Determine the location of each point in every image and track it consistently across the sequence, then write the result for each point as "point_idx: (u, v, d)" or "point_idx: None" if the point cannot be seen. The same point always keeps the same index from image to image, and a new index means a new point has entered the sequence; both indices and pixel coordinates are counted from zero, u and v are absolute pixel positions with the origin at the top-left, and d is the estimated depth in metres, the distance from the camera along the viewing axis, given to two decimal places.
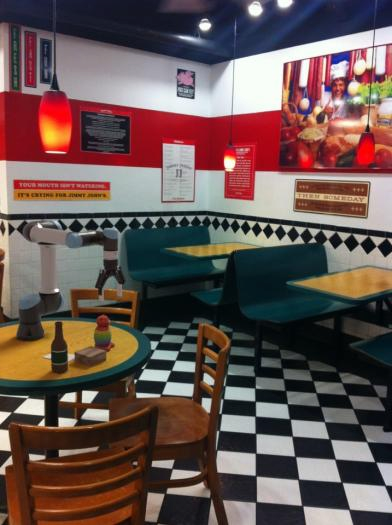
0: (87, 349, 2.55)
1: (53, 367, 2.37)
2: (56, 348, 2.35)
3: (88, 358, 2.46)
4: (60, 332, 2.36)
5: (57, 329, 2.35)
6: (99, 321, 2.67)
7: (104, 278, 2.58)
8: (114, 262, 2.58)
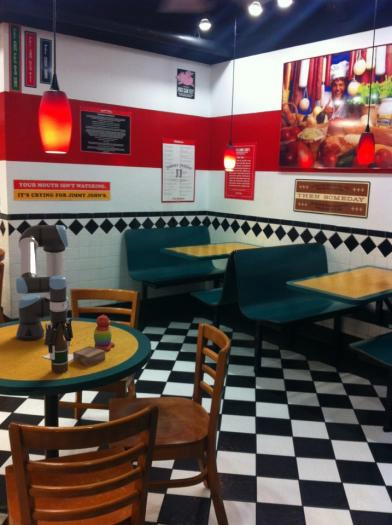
0: (85, 349, 2.55)
1: (53, 367, 2.37)
2: (56, 348, 2.35)
3: (87, 358, 2.46)
4: (60, 332, 2.36)
5: None
6: (99, 321, 2.67)
7: (53, 333, 2.34)
8: (62, 314, 2.33)
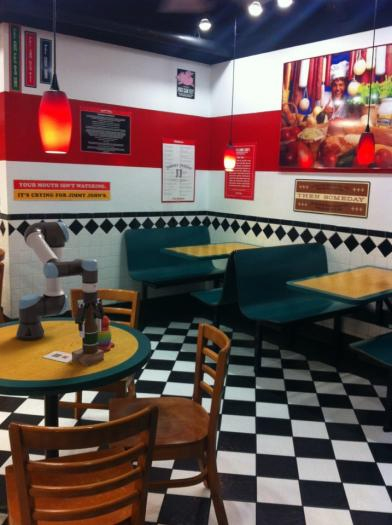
0: None
1: (84, 348, 2.50)
2: (87, 330, 2.47)
3: (85, 358, 2.47)
4: (91, 314, 2.48)
5: (88, 312, 2.47)
6: None
7: (84, 312, 2.46)
8: (93, 295, 2.45)
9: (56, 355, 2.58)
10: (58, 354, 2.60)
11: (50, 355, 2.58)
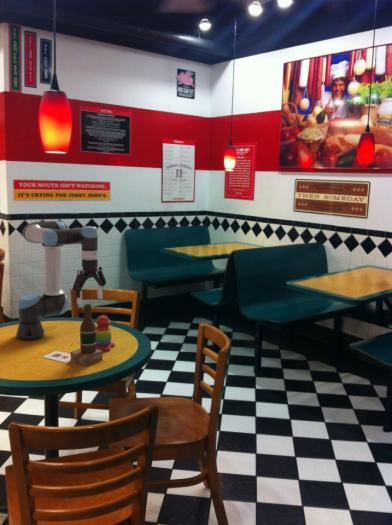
0: None
1: (82, 348, 2.50)
2: (85, 329, 2.47)
3: (84, 358, 2.46)
4: (89, 314, 2.48)
5: (86, 311, 2.48)
6: (99, 321, 2.67)
7: (82, 279, 2.42)
8: (93, 262, 2.42)
9: (56, 355, 2.58)
10: (58, 354, 2.60)
11: (50, 355, 2.58)
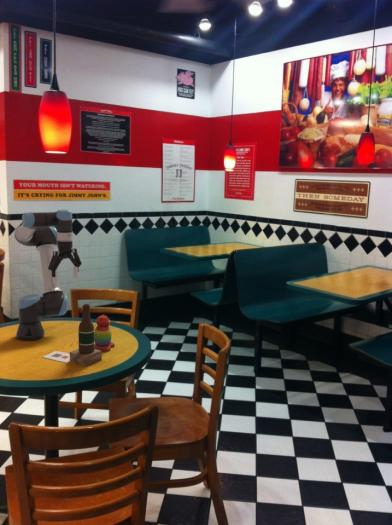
0: None
1: (81, 347, 2.49)
2: (83, 329, 2.47)
3: (83, 358, 2.46)
4: (87, 314, 2.48)
5: (85, 311, 2.48)
6: (99, 321, 2.67)
7: (58, 260, 2.56)
8: (68, 244, 2.56)
9: (56, 355, 2.58)
10: (58, 354, 2.60)
11: (50, 355, 2.58)
